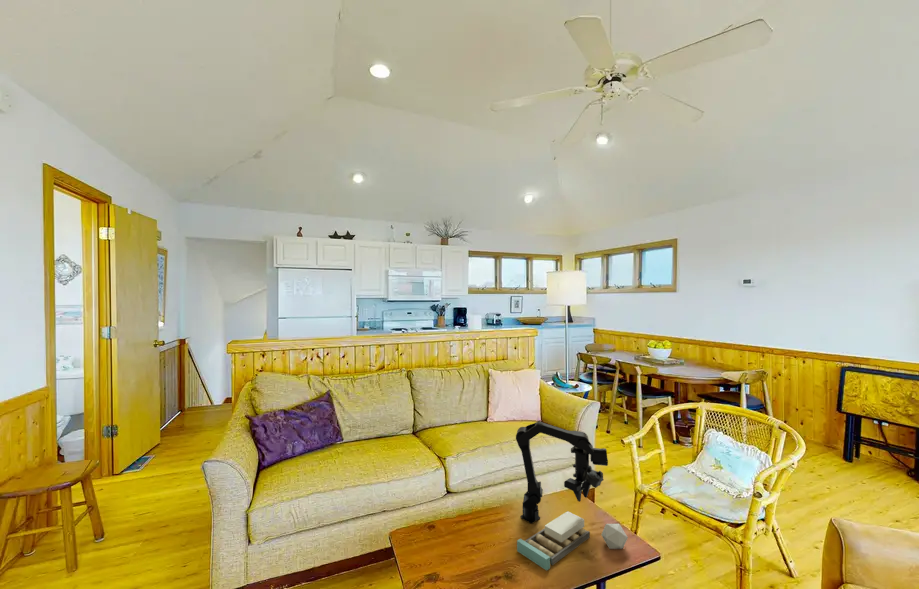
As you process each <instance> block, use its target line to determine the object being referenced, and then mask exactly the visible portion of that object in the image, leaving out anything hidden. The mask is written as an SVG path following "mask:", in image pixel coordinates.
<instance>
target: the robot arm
mask: <svg viewBox="0 0 919 589" xmlns="http://www.w3.org/2000/svg"><path fill="white" fill-rule="evenodd" d="M539 434H543V435H546V436H550V437H551V438H552V437H553V438H555V439H559V440H561V441H564V442H565V441H566V442H567V443H569V444H570V445H571V446H572V447H570V453H572V454H574V464H572V467H573V468H574V470H575V472H574V473H573V474H572V476H573V478H571V477H570V478H567V479H565V481H563V487H564V488H566V489H568V490H570V491H573V494H574V496H575V498H576V500H577V502H580V503H581V500H582V495H583V497H584V498H588V495H589V491H590V488H591V487H592V488H595V489H596V488H598V487H599V486H601V484H602V482H603V481H604V473H603V472H602V471H601V470H599V471H598V470H594V469H592V466H591V465H590V463H592V465H594V466H595V465H596V466H602V467H603V466H604V467H608V465H609V458H608V450H607V448H605V447H603V448H597V447H593V444H592V443H591V441H590V440H589V436H588V435H587V433H586V432H584V431H580V430H567V429H564V428H561V427H558V426H554V425H552V424H548V423H545V422H543V421H540V420H538V421H535V422H534V423H530V424H528V425H526V426H521V427H518V429H517V430H516V434H515V440H516V442H517V445H518V447H519V449H520V452H521V456H522V460H523V466H524V471H525V476H526V481H527V482H526V483H527V491H526V492H525V493H524V495H523V501H522V514H521V515H520V518H521V519H523V521H526V522H528V523H530V524H533V523H535V522H536V521H538V520H540V519H541V516H540V515H539V511H540V510H539V504H540V503H541V501H542V498H543V493H544V492H543V491H544V490H543V488H542V481H540V480H539V481H538V480H537V476H536V471H535V467H534V463H533V457H532V451H531V439H533V438H534V437H536V436H538V435H539ZM574 478H575V479H574Z"/></svg>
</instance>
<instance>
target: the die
mask: <svg viewBox="0 0 919 589" xmlns="http://www.w3.org/2000/svg"><path fill="white" fill-rule="evenodd" d="M600 535H601V537H602V539H603V540H604V542H605V544H606V545H607V547H608V549H609V550H622V549H624V547H625V545H626V542H627V541H628V538H629V537H628V535H627V534H626V532H625V531H624V529H623V527H622V525H621V523H606V524H605V525H604V528H603V530H602V532H601V534H600Z"/></svg>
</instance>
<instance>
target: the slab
mask: <svg viewBox="0 0 919 589" xmlns="http://www.w3.org/2000/svg"><path fill="white" fill-rule="evenodd" d="M544 528H545V533H546V534H547V535H549V536H551V537H553V538H554V539H556V540H558V541H559V542H561V543H562V542H563V541H565V540H566V539H567V538H569V537H570V536H572V535H573V534H576V532H577V531H579V530H580V529H582V528H583V529H584V528H585V518H583V517H580V516H579V515H576V514H574V513H572V512H570V511H566V512H564V513H562V514H561V515H559V516H557V517H556V518H554V519H553V520H551V521H550V522H548V523H547V524H545V525H544ZM567 540H568V539H567Z"/></svg>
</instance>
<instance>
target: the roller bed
mask: <svg viewBox="0 0 919 589" xmlns="http://www.w3.org/2000/svg"><path fill="white" fill-rule="evenodd" d="M590 534H591V533H590V530H586V529H585V528H584V527H583V528H582V529H580V530H579V531H577V532H576V533H575V534H573V535H572V536H570V537H569V538H567V539H566V540H565V541H563V542H562V543H561V542H559V541H558V540H556V539H554V538H553V537H551V536H549V535H547V534H546V533H545V527H544V528H543V529H541V530H539V531H538V532H536V533H535V534H533V535H531V536H530V537H528V538H527V539H525V540H524V541H525V542H527V543H528V544H530V545H532V546H533V547H535V548H536V549H538V550H540V551H541V552H543V553H544V554H546V555H548V556H549V557H550V566H554V565H555V564H556V563H558V562H559V561H561V560H562V559H563V558H565V557H566V556H567V555H568V554H570V553H571V552H572V551H574V550H575V549H576V548H578V547H579V546H581V545H582V544H584V542H586V541H587V540H589V539H590V537H591V535H590Z"/></svg>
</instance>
